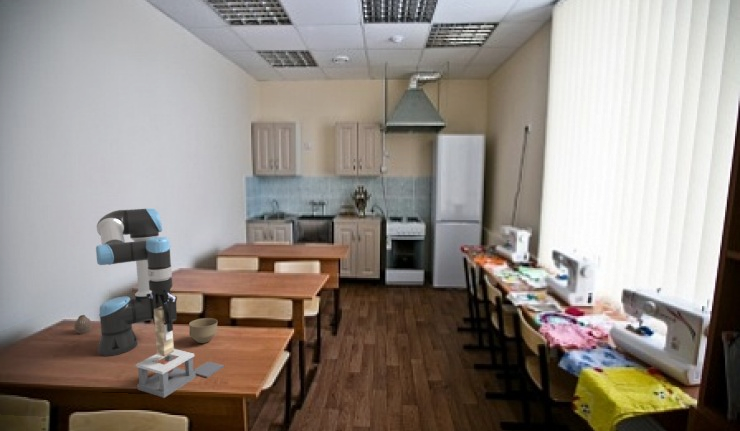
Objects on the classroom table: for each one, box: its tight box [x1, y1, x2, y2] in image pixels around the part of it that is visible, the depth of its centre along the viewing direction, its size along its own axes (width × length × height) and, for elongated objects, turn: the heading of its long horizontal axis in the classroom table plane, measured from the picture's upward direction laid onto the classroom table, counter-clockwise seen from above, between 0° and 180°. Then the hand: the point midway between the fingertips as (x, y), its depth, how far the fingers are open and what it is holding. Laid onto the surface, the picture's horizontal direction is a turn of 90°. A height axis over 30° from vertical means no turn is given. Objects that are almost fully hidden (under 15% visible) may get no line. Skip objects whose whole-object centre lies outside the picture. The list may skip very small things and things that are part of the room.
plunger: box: [160, 360, 173, 377], centre depth 136 cm, size 4×4×5 cm
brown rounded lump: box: [73, 314, 92, 335], centre depth 182 cm, size 7×7×9 cm
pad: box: [193, 361, 225, 379], centre depth 146 cm, size 9×9×1 cm
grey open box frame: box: [135, 348, 197, 399], centre depth 136 cm, size 14×14×10 cm
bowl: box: [188, 317, 218, 344], centre depth 172 cm, size 13×13×10 cm
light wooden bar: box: [154, 307, 175, 358], centre depth 135 cm, size 4×4×18 cm
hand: (164, 337), depth 135 cm, fingers closed on light wooden bar, 4 cm apart
